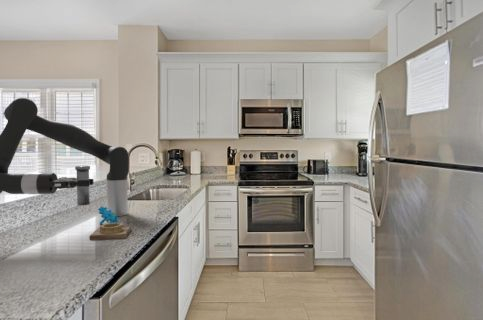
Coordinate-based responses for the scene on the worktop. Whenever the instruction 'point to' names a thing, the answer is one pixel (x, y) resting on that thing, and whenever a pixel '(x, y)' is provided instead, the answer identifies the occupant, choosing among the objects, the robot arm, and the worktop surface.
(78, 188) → the pin
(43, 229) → the worktop surface
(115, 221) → the blue irregular figure
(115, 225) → the stand
